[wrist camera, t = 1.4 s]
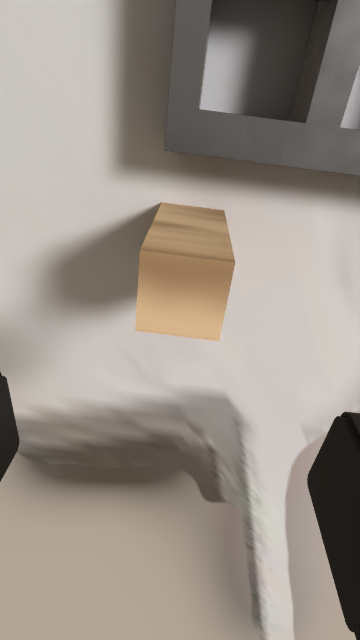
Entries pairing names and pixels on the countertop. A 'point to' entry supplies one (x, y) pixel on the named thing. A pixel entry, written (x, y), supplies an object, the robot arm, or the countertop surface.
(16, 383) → the countertop surface
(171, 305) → the peg
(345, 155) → the rail
